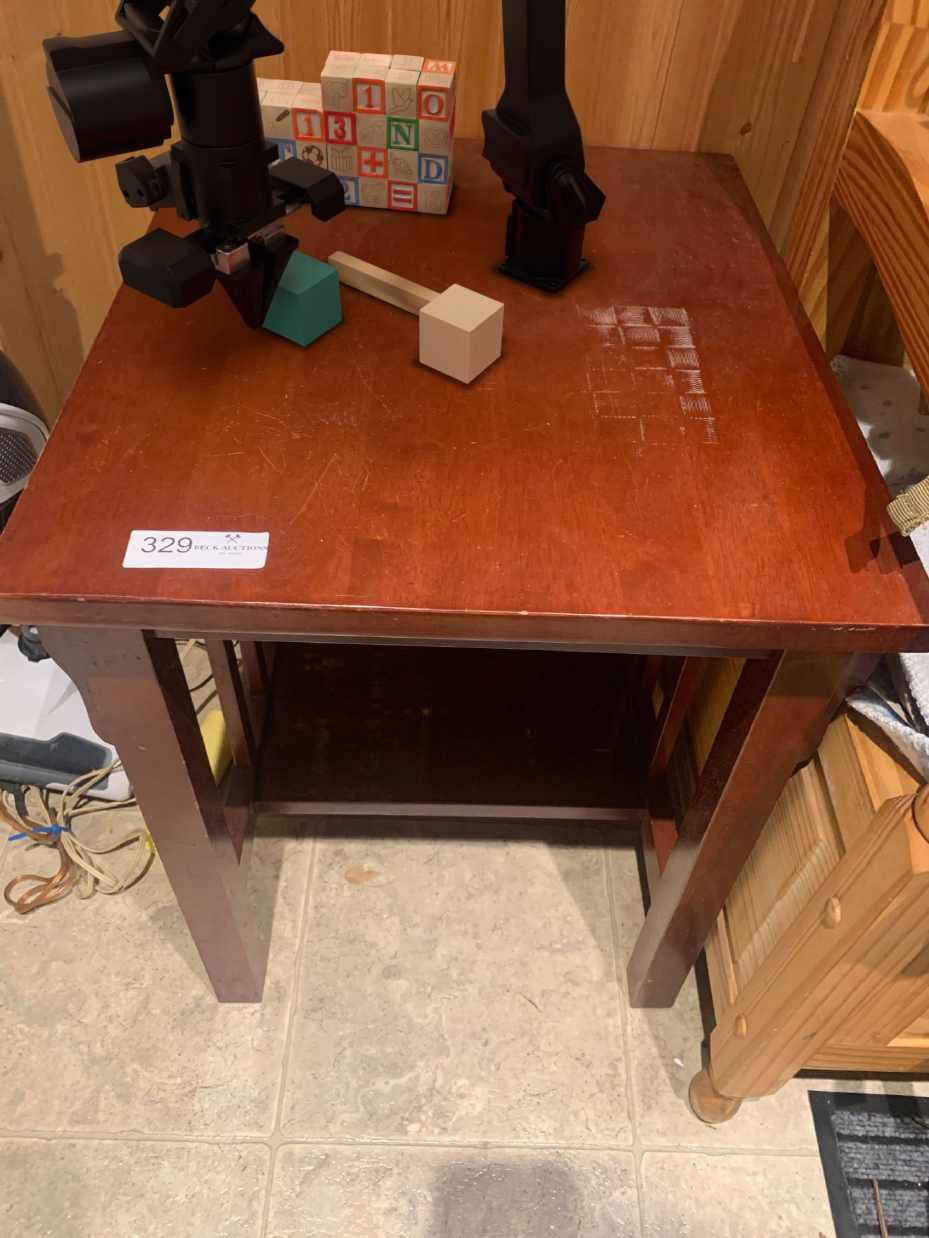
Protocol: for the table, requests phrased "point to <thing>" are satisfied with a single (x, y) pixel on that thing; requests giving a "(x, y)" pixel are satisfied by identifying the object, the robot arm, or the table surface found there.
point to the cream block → (460, 332)
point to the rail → (381, 283)
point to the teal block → (305, 300)
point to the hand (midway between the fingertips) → (254, 326)
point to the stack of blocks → (371, 127)
